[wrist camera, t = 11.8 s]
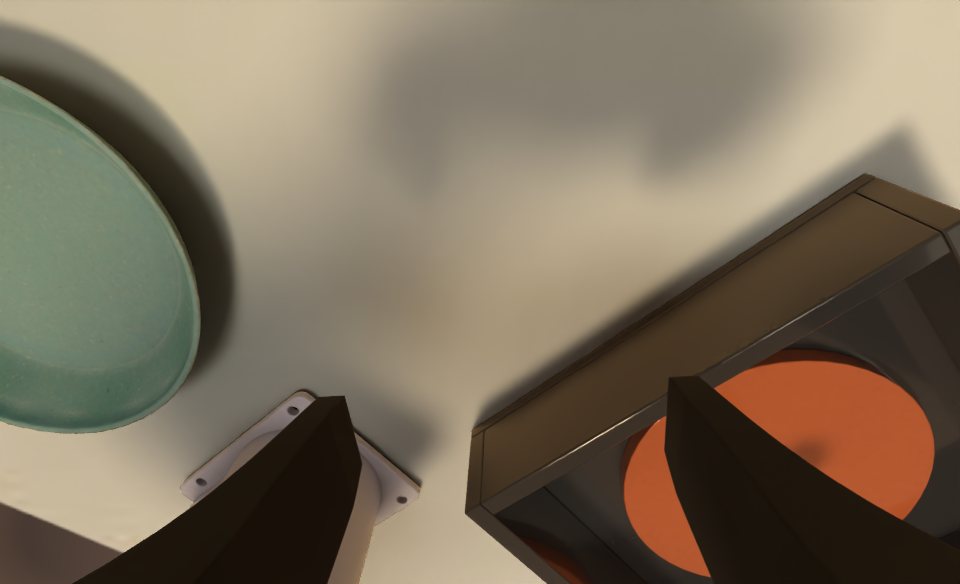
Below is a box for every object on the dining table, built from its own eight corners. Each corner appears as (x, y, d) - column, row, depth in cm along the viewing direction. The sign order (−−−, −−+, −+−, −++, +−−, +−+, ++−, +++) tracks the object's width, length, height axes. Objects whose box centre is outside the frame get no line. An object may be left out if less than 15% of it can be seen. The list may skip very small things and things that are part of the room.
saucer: (-218, 25, 18) (-327, 24, 16) (210, 76, 18) (166, 83, 16) (-68, 377, 25) (-130, 414, 22) (247, 413, 25) (220, 454, 22)
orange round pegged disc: (711, 598, 28) (774, 772, 22) (563, 452, 24) (585, 610, 18) (966, 487, 24) (1141, 660, 17) (839, 288, 20) (1003, 415, 13)
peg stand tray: (694, 637, 31) (724, 735, 26) (471, 429, 25) (463, 513, 20) (1045, 491, 25) (1159, 588, 20) (865, 172, 19) (973, 213, 14)
